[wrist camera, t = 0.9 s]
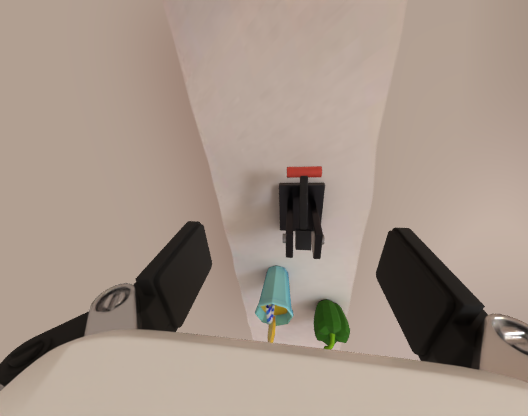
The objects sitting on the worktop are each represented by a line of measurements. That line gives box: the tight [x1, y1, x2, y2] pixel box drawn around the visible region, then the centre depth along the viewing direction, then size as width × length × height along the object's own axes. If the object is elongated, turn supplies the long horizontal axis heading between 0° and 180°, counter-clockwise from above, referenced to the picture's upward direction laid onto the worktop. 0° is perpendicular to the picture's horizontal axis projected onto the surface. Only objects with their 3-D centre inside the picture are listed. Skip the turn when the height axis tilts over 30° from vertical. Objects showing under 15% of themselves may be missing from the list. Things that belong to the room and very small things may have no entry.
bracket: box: [279, 183, 325, 259], centre depth 32 cm, size 10×8×12 cm
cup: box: [255, 265, 293, 343], centre depth 40 cm, size 14×8×15 cm, turn 6°
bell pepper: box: [314, 300, 350, 350], centre depth 47 cm, size 8×8×10 cm
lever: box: [287, 166, 322, 250], centre depth 29 cm, size 12×5×2 cm, turn 1°
